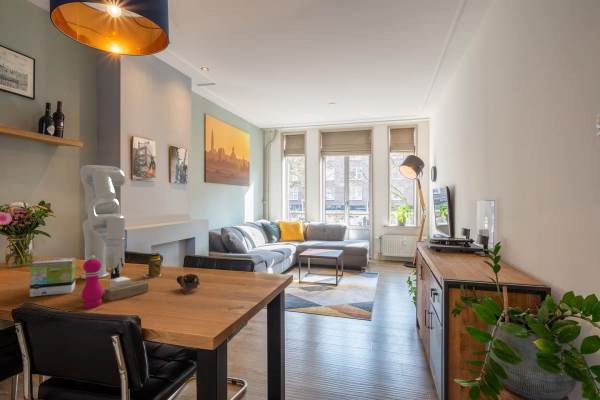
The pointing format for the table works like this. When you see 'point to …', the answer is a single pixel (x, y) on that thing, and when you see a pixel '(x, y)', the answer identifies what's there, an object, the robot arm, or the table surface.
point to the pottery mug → (188, 281)
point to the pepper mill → (92, 284)
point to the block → (119, 281)
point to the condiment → (154, 265)
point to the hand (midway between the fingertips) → (115, 281)
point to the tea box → (52, 276)
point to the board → (125, 290)
